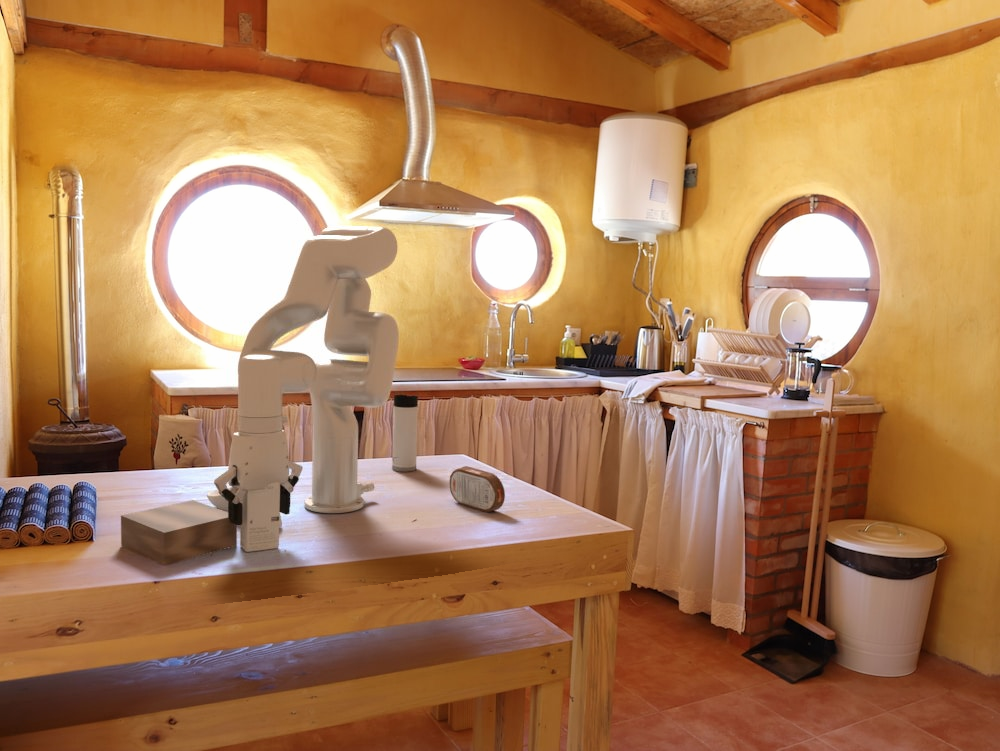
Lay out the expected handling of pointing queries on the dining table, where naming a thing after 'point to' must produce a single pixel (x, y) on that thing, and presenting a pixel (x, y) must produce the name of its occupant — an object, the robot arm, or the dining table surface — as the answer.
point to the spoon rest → (225, 502)
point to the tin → (477, 489)
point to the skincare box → (260, 518)
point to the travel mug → (404, 433)
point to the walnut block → (177, 532)
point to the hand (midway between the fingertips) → (260, 518)
